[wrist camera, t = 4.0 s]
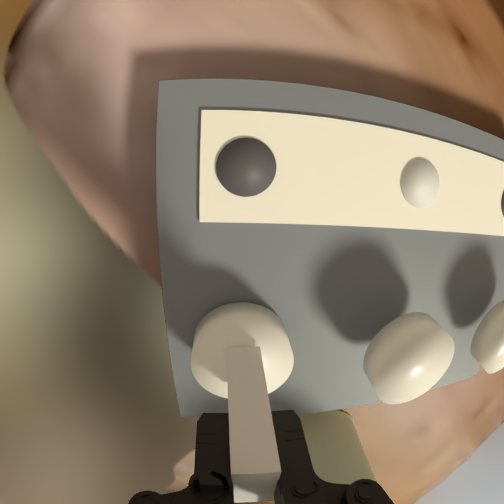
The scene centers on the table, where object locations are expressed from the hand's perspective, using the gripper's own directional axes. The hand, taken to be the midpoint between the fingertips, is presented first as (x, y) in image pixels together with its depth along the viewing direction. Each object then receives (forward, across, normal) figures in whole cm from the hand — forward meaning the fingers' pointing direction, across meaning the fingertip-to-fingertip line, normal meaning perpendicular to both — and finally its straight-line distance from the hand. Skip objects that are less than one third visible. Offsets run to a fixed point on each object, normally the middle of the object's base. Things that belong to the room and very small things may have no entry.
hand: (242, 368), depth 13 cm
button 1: (+1, -18, 0) cm, 18 cm away
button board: (+6, -9, -3) cm, 11 cm away
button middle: (+1, -9, 0) cm, 9 cm away
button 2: (+2, 0, 0) cm, 2 cm away
